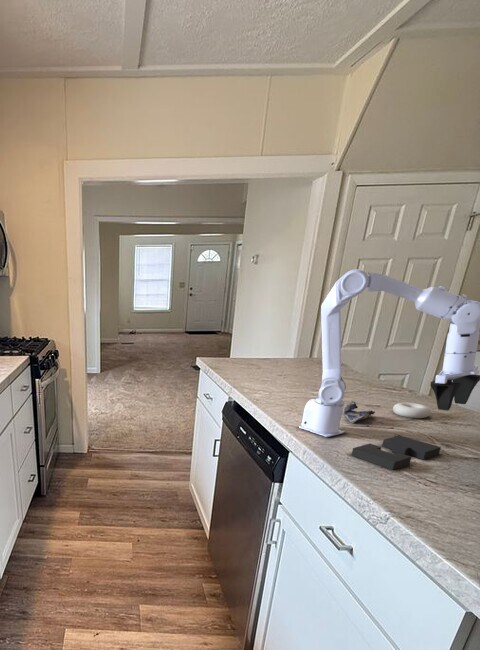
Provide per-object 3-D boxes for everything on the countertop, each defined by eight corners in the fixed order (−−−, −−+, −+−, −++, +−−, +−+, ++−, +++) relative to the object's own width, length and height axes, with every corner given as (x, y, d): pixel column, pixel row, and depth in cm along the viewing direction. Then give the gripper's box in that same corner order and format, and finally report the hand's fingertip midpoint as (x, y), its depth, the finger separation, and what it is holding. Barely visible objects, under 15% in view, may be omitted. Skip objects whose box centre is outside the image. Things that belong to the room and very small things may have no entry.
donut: (385, 410, 138) (401, 419, 129) (388, 400, 137) (404, 408, 127) (418, 411, 136) (436, 420, 127) (420, 401, 135) (439, 409, 126)
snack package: (326, 416, 133) (360, 426, 122) (332, 397, 131) (367, 405, 121) (349, 417, 137) (384, 427, 127) (355, 399, 136) (391, 407, 126)
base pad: (351, 455, 103) (352, 448, 102) (368, 450, 106) (369, 443, 105) (392, 470, 94) (394, 462, 94) (409, 464, 97) (411, 456, 96)
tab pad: (377, 447, 107) (379, 440, 106) (397, 441, 111) (399, 435, 110) (419, 460, 99) (421, 453, 98) (438, 454, 102) (441, 447, 102)
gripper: (464, 357, 91) (455, 415, 95) (497, 348, 97) (487, 402, 101) (428, 356, 97) (421, 410, 102) (461, 347, 103) (453, 399, 107)
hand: (452, 406), depth 102 cm, fingers open, 7 cm apart
